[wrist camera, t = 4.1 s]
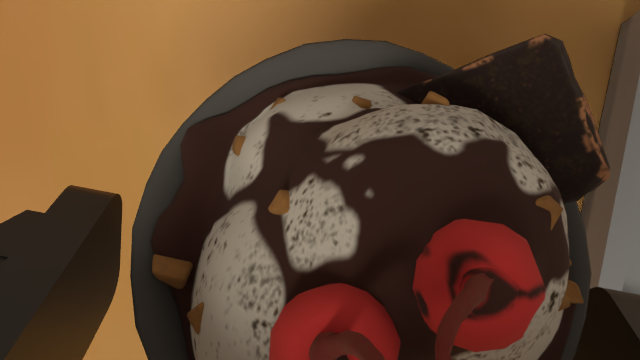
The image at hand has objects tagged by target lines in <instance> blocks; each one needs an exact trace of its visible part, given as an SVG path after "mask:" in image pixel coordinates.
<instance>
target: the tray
mask: <svg viewBox="0 0 640 360" xmlns="http://www.w3.org/2000/svg"><path fill="white" fill-rule="evenodd" d="M598 134H599V137H600V140H601V143H602V146H603V149H604V151H605V154H606V157H607V160H608V162H609V165H610V177H609V178H608V179H607V180H606V181H604V182H603V183H602V184H601V185H600V186H599V187H597V188H596V189H595V190H593V191H591V192H589V193H587V194H585V197H584V202H583V207H582V211H581V217H582V221H583V224H584V227H585V230H586V237H587V244H588V251H589V258H590V266H591V273H592V275H591V283H590V289H591V288H593V287H602V288H607V289H612V290H617V291H623V292H628V293H633V294H638V295H640V10H639V11H638V12H637V13H635V14H634V15H633V16H631V17H630V18H629V19H627V20H626V21H625V22H623V23H622V24H621V29H620V33H619V38H618V43H617V47H616V52H615V57H614V61H613V66H612V71H611V75H610V80H609V85H608V89H607V94H606V99H605V103H604V108H603V113H602V118H601V122H600V127H599V132H598Z"/></svg>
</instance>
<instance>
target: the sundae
mask: <svg viewBox="0 0 640 360" xmlns="http://www.w3.org/2000/svg"><path fill="white" fill-rule="evenodd" d="M609 177H610V165H609V162H608V160H607V157H606V154H605V151H604V149H603V146H602V143H601V140H600V137H599V134H598V131H597V127H596V124H595V121H594V117H593V115H592V112H591V110H590V108H589V105H588V103H587V100H586V98H585V96H584V94H583V92H582V90H581V88H580V86H579V85H578V83H577V81H576V79H575V77H574V73H573V70H572V66H571V63H570V59H569V57H568V54H567V52H566V49H565V46H564V44H563V41H561V40H559V39H556V38H554V37H552V36H549V35H547V34H543V35H540V36H537V37H535V38H532V39H529V40H527V41H524V42H521V43H519V44H516V45H513V46H511V47H508V48H506V49H503V50H500V51H498V52H495V53H493V54H490V55H488V56H485V57H483V58H481V59H478V60H476V61H474V62H471V63H469V64H467V65H465V66H462V67H460V68H458V69H455V70H454V69H453V68H452V67H450V66H448V65H446V64H443V63H441V62H439V61H437V60H435V59H433V58H431V57H429V56H427V55H425V54H423V53H420V52H417V51H414V50H411V49H408V48H405V47H402V46H399V45H396V44H393V43H390V42H387V41H372V40H352V39H343V40H335V41H326V42H317V43H308V44H303V45H301V46H298V47H296V48H293V49H291V50H288V51H285V52H283V53H280V54H278V55H275V56H273V57H270V58H268V59H265V60H263V61H262V62H260V63H258V64H256V65H254V66H252V67H251V68H249V69H247V70H245V71H243V72H242V73H240V74H238V75H236V76H234V77H233V78H232V79H231V80H229V81H228V82H227V83H226V84H224V85H223V86H222V87H221V88H220V89H218V90H217V91H216V92H215V93H213V94H212V95H211V96H210V97H209V98H207V99H206V100H205V101H204V102H203V103H202V104H201V105H200V106H199V107H198V108H197V109H196V110H195V112H194V113H193V114H192V115H191V116H190V117H189V118H188V119H187V120H186V121H185V122H184V123H183V124H182V125H181V127H180V128H179V129H178V131H177V132H176V133H175V135H174V136H173V137H172V138H171V140H170V141H169V142H168V144H167V145H166V146H165V148H164V149H163V150H162V152H161V154H160V156H159V158H158V160H157V162H156V164H155V167H154V169H153V171H152V173H151V175H150V177H149V179H148V182H147V184H146V187H145V190H144V193H143V196H142V199H141V202H140V206H139V209H138V212H137V215H136V218H135V221H134V224H133V228H132V250H131V274H130V277H131V287H132V296H133V306H134V316H135V326H136V329H137V331H138V334H139V337H140V339H141V342H142V345H143V347H144V350H145V352H146V355H147V358H148V360H573V358H574V356H575V354H576V351H577V347H578V343H579V340H580V336H581V333H582V329H583V326H584V322H585V318H586V312H587V305H588V297H589V290H590V283H591V275H592V273H591V266H590V258H589V251H588V244H587V237H586V230H585V227H584V224H583V221H582V217H581V214H580V211H579V208H578V205H577V202H576V201H578V200H579V199H581V198H582V197H583V196H584V195H585V194H587V193H589V192H591V191H593V190H595V189H596V188H597V187H599V186H600V185H601V184H602V183H603V182H604V181H606V180H607V179H608V178H609Z"/></svg>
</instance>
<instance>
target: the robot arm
mask: <svg viewBox="0 0 640 360" xmlns="http://www.w3.org/2000/svg"><path fill="white" fill-rule="evenodd" d="M121 224H122V199H121V196H120V195H119V194H115V193H110V192H105V191H99V190H94V189H89V188H84V187H78V186H73V185H71V186H68V187H67V188H66V189H65V190H64V191H63V192H62V193H61V195H60V196H59V197H58V198H57V199H56V200H55V202H54V203H53V204H52V205H51V206H50V208H49V209H48V210H47V211H46V212H45V213H41V212H36V211H30V210H26V211H24V212H22V213H20V214H18V215H16V216H14V217H12V218H10V219H9V220H7V221H5V222H3V223H1V224H0V360H82V359H83V357H84V356H85V354H86V352H87V350H88V348H89V346H90V344H91V342H92V340H93V338H94V336H95V334H96V332H97V330H98V328H99V326H100V324H101V322H102V320H103V318H104V316H105V314H106V312H107V310H108V309H109V306H110V304H111V302H112V299H113V296H114V293H115V290H116V286H117V282H118V277H119V271H120V250H121ZM573 360H640V295H638V294H633V293H628V292H623V291H617V290H612V289H607V288H602V287H593V288H591V289H590V290H589V297H588V305H587V312H586V318H585V322H584V326H583V329H582V333H581V336H580V340H579V343H578V347H577V351H576V354H575V356H574V358H573Z"/></svg>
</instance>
